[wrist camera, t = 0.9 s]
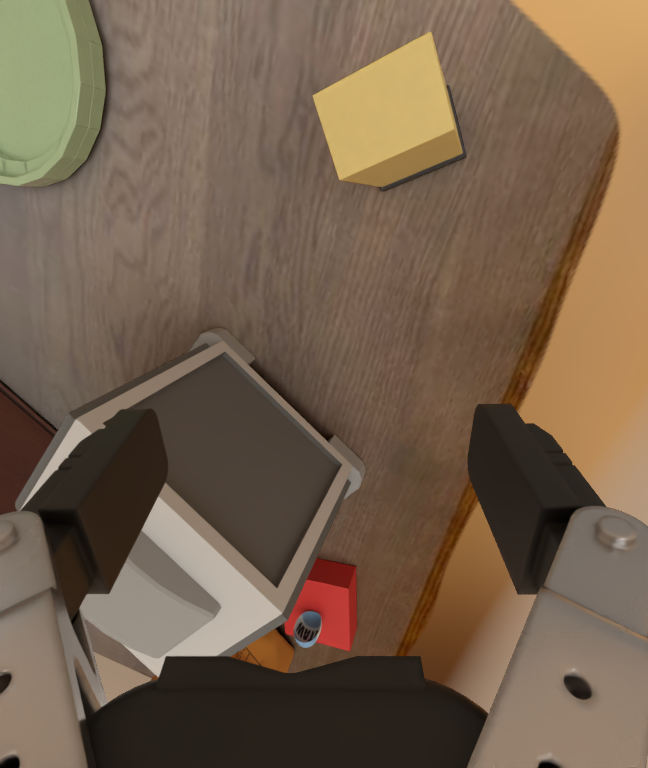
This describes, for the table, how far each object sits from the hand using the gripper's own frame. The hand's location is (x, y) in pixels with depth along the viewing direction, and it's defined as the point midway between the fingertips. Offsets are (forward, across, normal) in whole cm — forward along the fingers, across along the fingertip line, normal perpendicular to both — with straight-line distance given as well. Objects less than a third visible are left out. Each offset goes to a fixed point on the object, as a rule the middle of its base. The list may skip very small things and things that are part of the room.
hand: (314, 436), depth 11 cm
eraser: (+23, -6, -7) cm, 25 cm away
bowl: (+32, +24, -13) cm, 42 cm away
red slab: (+21, +1, +33) cm, 39 cm away
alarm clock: (+24, +7, +17) cm, 31 cm away
